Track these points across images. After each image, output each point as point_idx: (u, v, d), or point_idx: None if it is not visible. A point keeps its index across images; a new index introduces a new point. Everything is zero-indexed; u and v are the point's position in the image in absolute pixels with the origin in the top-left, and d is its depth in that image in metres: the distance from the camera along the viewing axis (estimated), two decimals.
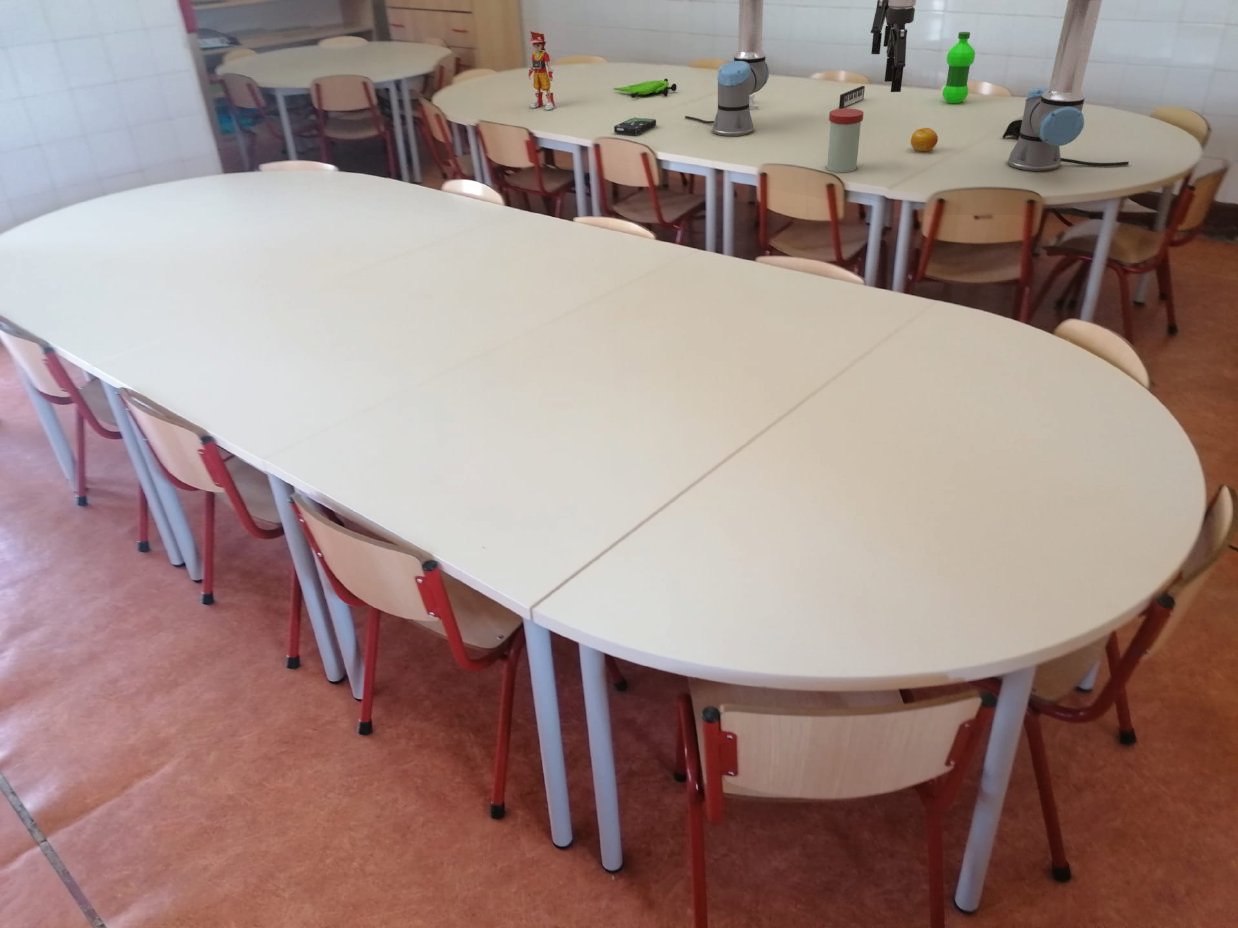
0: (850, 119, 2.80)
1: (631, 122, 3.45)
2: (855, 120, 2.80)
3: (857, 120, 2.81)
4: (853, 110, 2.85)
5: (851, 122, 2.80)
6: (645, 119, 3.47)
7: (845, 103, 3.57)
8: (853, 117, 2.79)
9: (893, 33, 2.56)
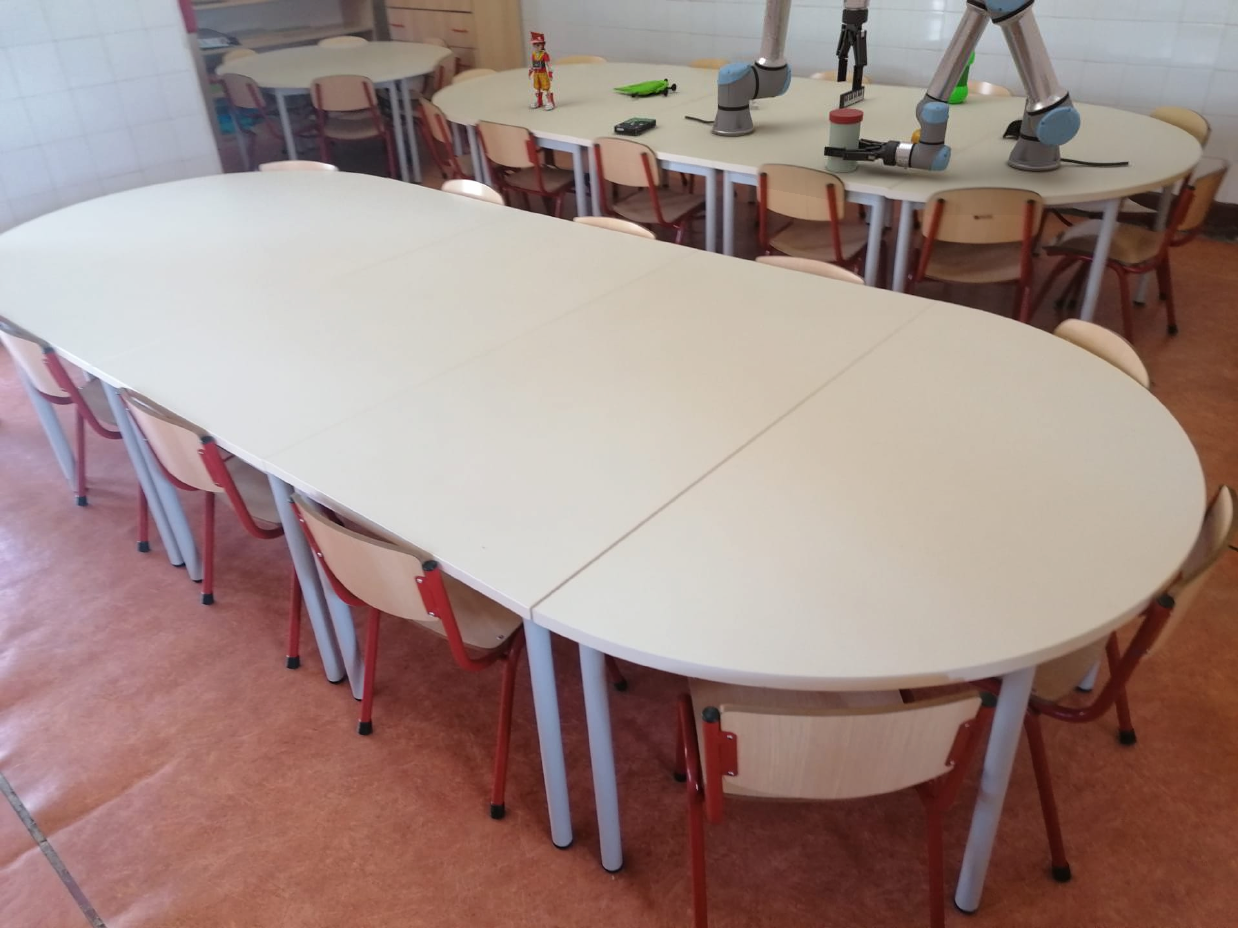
0: (850, 119, 2.80)
1: (631, 122, 3.45)
2: (855, 120, 2.80)
3: (857, 120, 2.81)
4: (853, 110, 2.85)
5: (851, 122, 2.80)
6: (645, 119, 3.47)
7: (845, 103, 3.57)
8: (853, 117, 2.79)
9: None
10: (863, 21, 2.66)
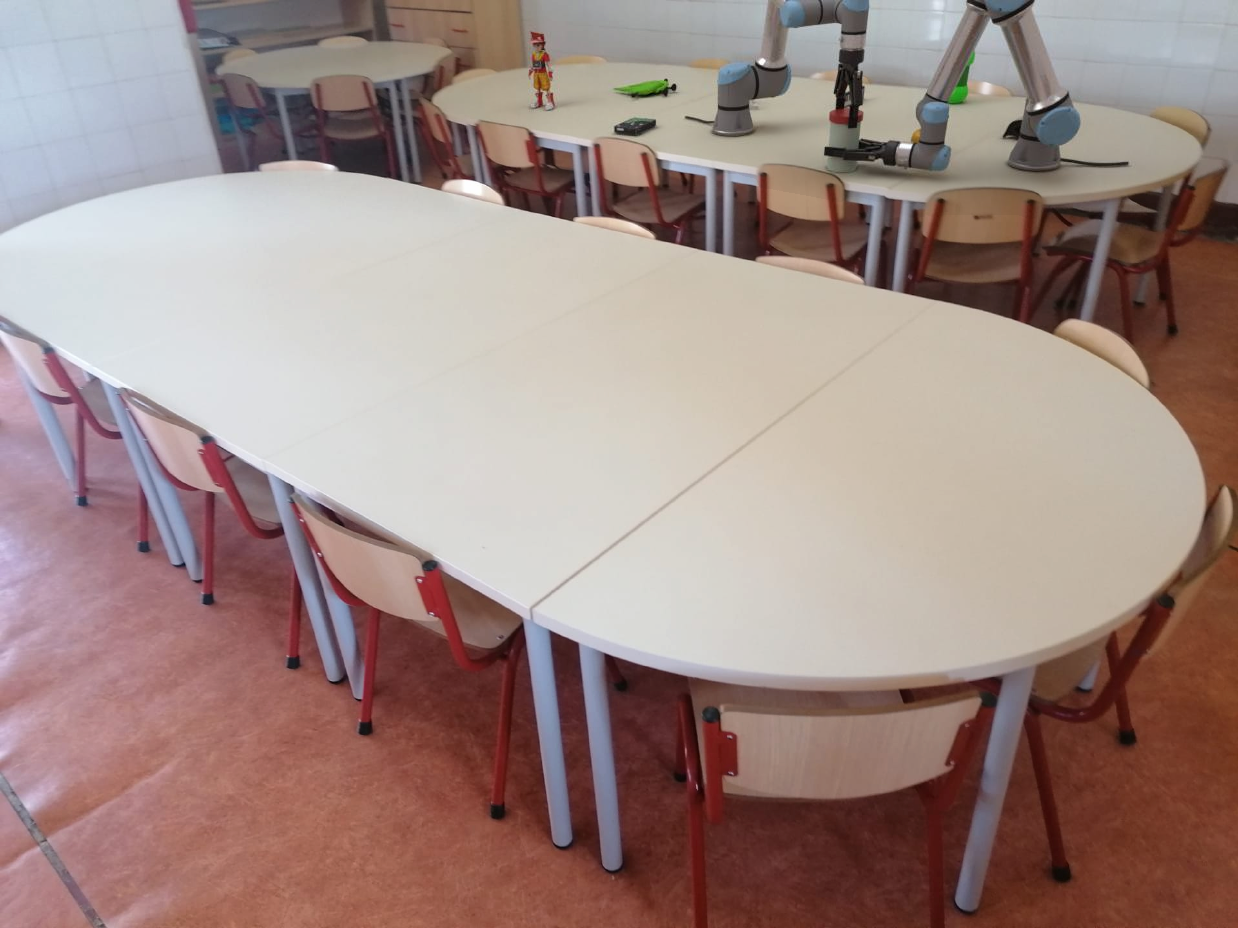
0: None
1: (631, 122, 3.45)
2: None
3: None
4: None
5: None
6: (645, 119, 3.47)
7: (845, 103, 3.57)
8: None
9: None
10: (859, 61, 2.72)
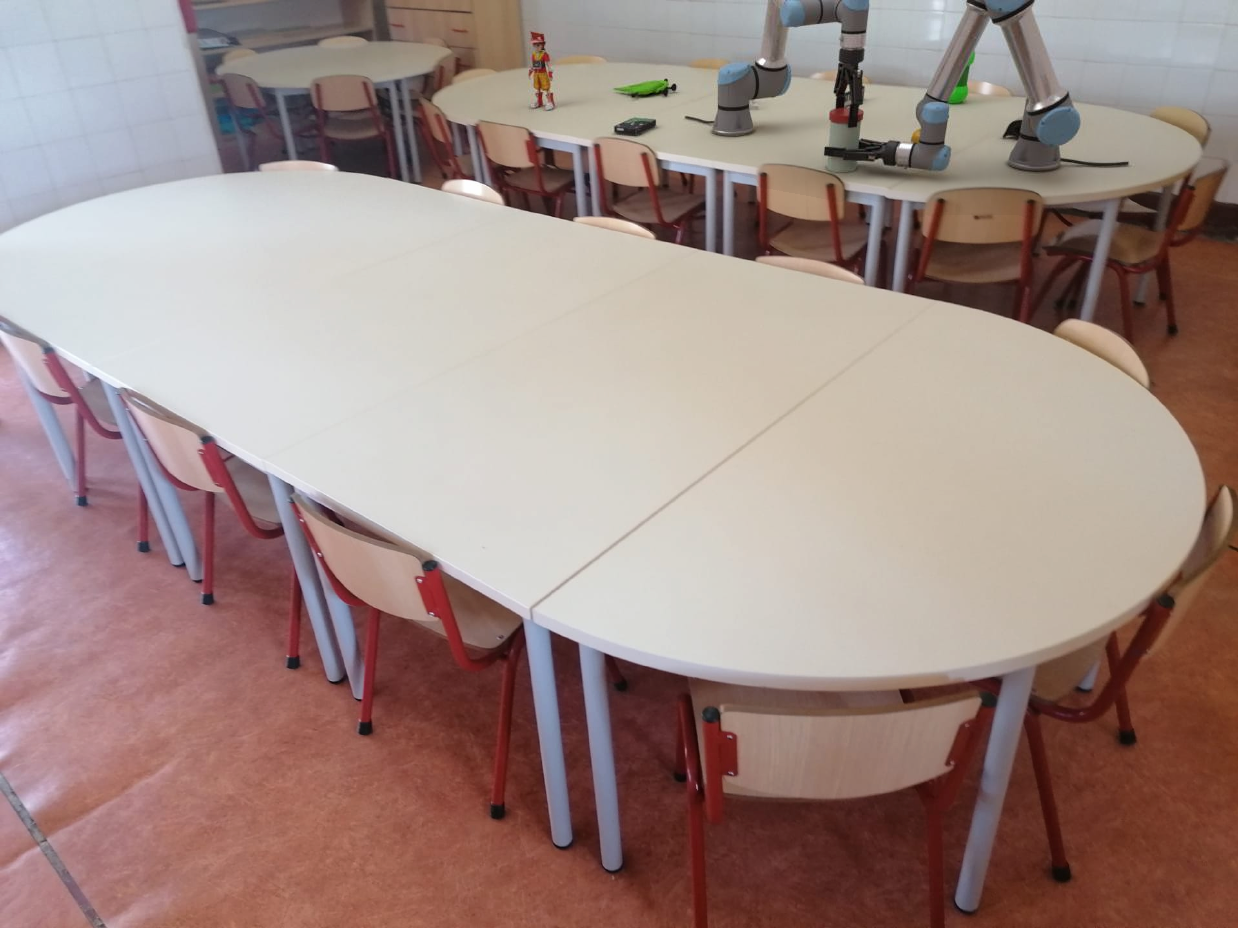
0: None
1: (631, 122, 3.45)
2: None
3: None
4: (838, 109, 2.86)
5: None
6: (645, 119, 3.47)
7: (845, 103, 3.57)
8: None
9: None
10: (859, 60, 2.72)
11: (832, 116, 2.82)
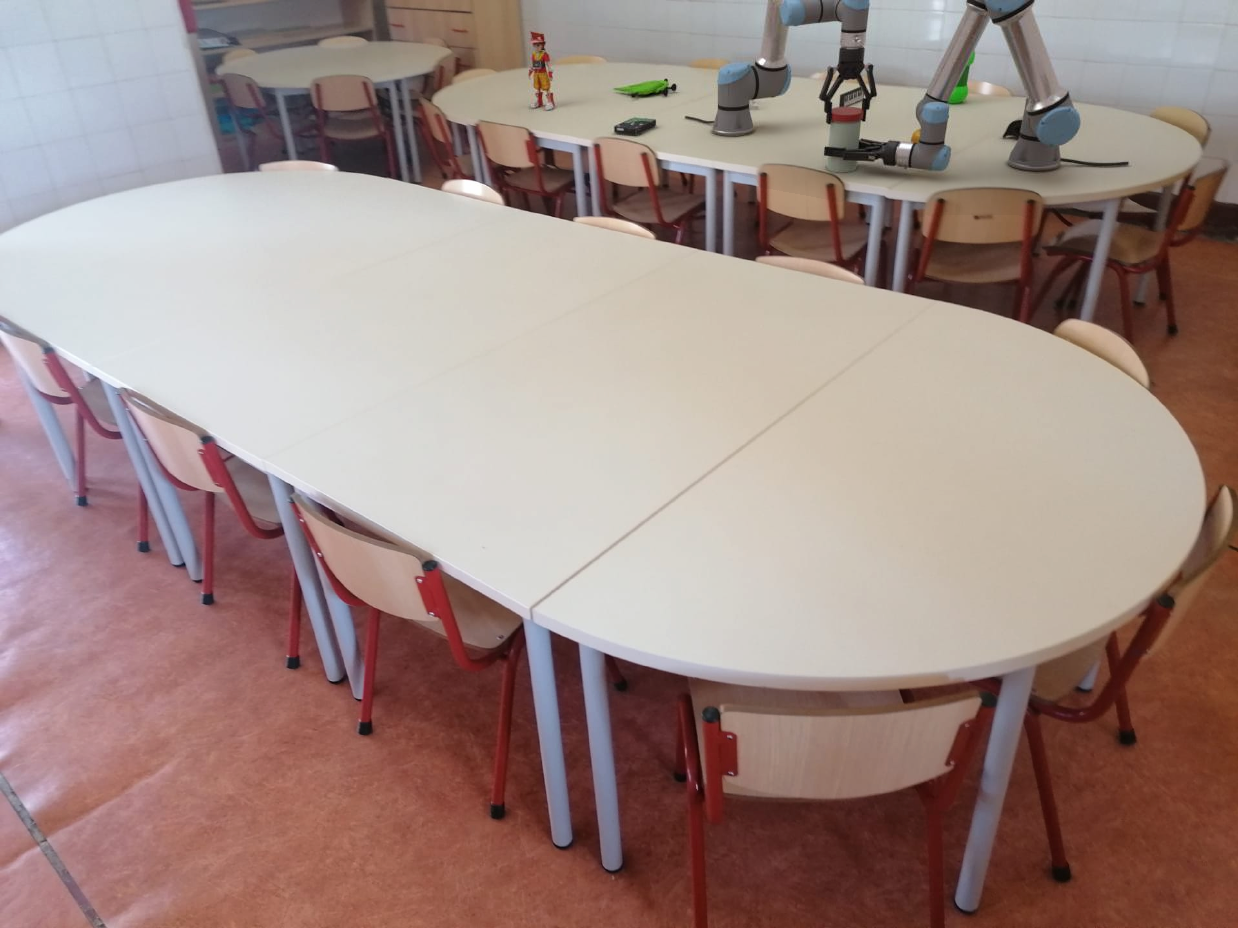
0: None
1: (631, 122, 3.45)
2: None
3: None
4: (838, 112, 2.82)
5: None
6: (645, 119, 3.47)
7: (845, 103, 3.57)
8: None
9: None
10: None
11: (855, 116, 2.79)
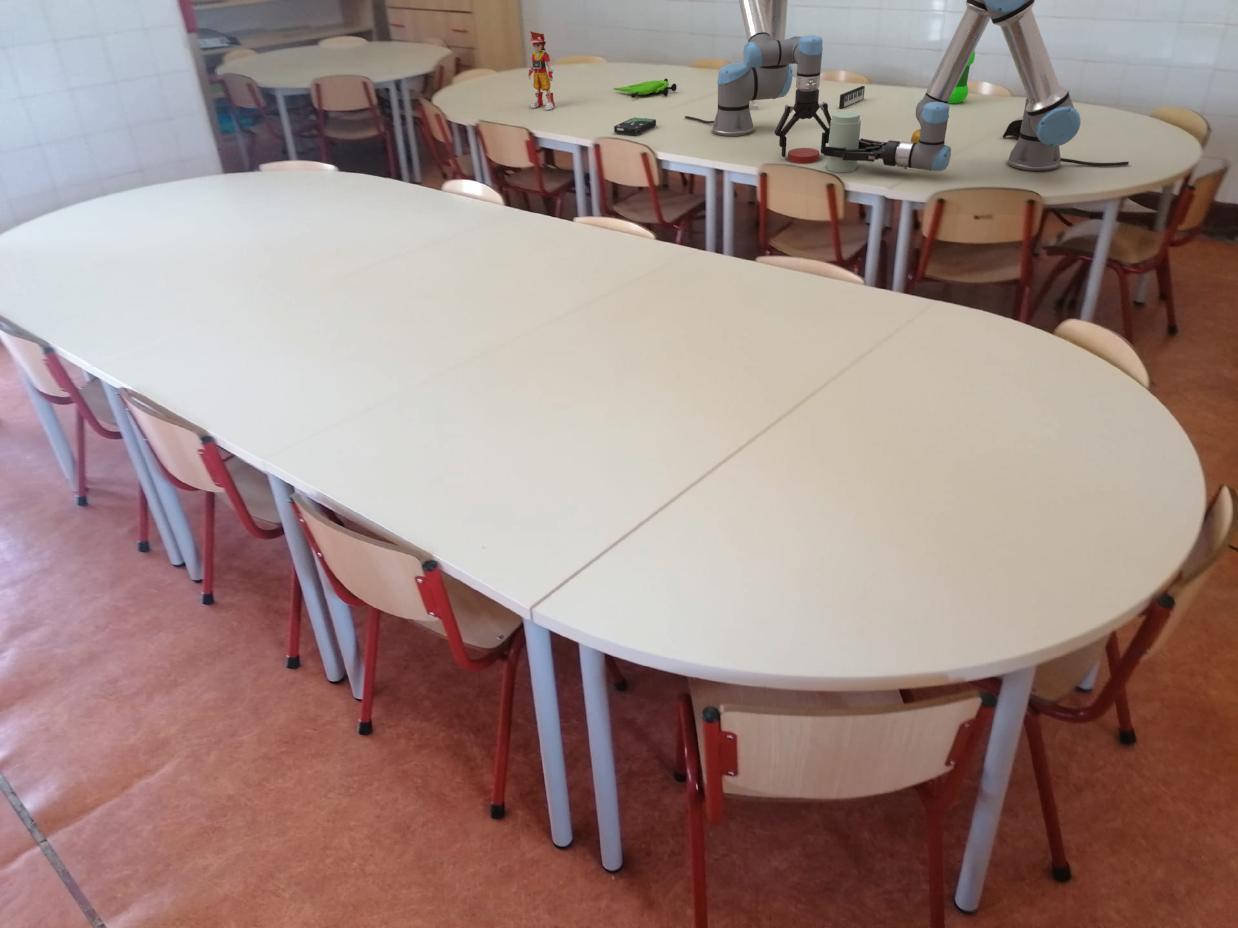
0: None
1: (631, 122, 3.45)
2: None
3: None
4: (795, 154, 3.01)
5: None
6: (645, 119, 3.47)
7: (845, 103, 3.57)
8: None
9: None
10: None
11: (811, 158, 2.99)
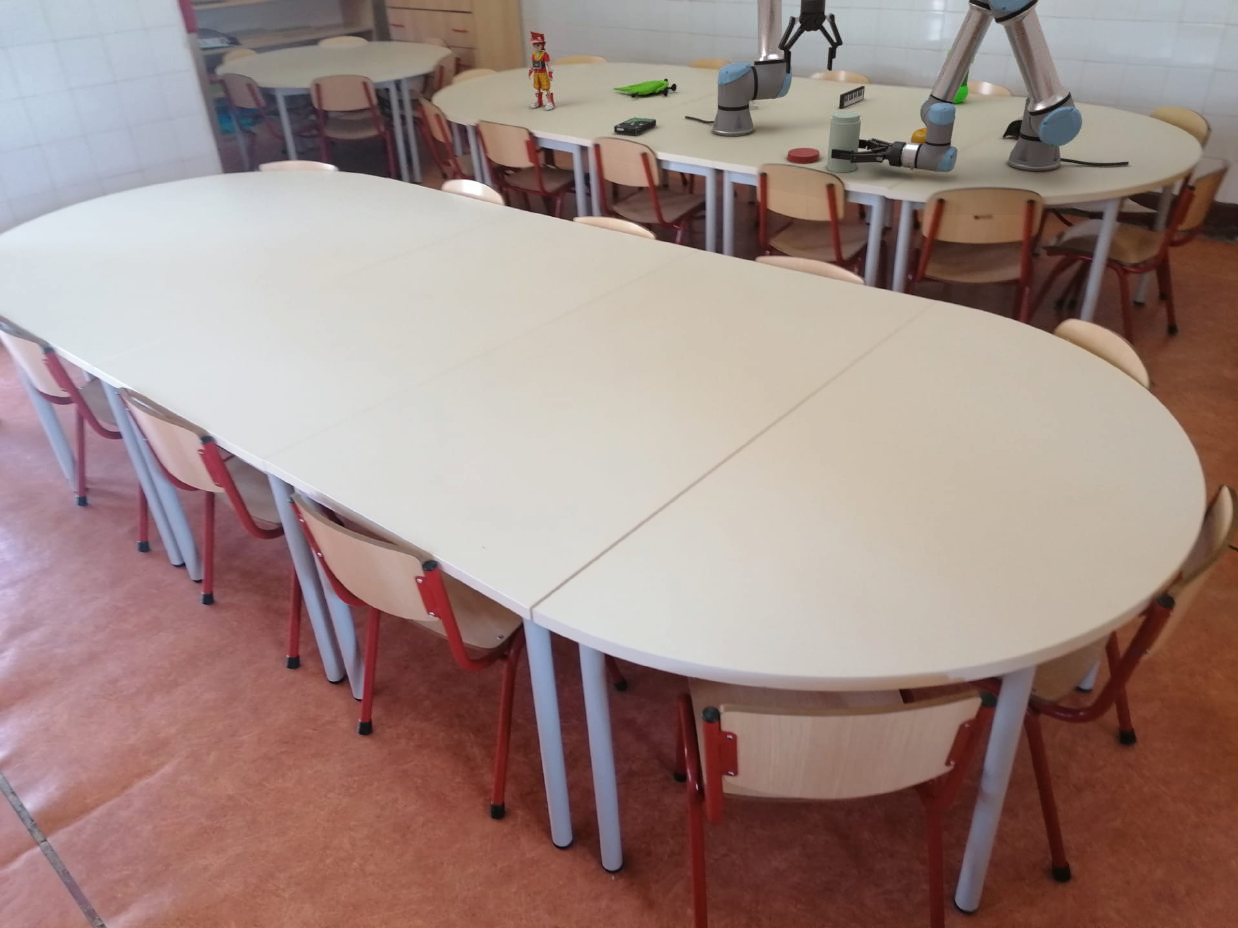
0: None
1: (631, 122, 3.45)
2: None
3: None
4: (795, 154, 3.01)
5: None
6: (645, 119, 3.47)
7: (845, 103, 3.57)
8: None
9: None
10: None
11: (811, 158, 2.99)
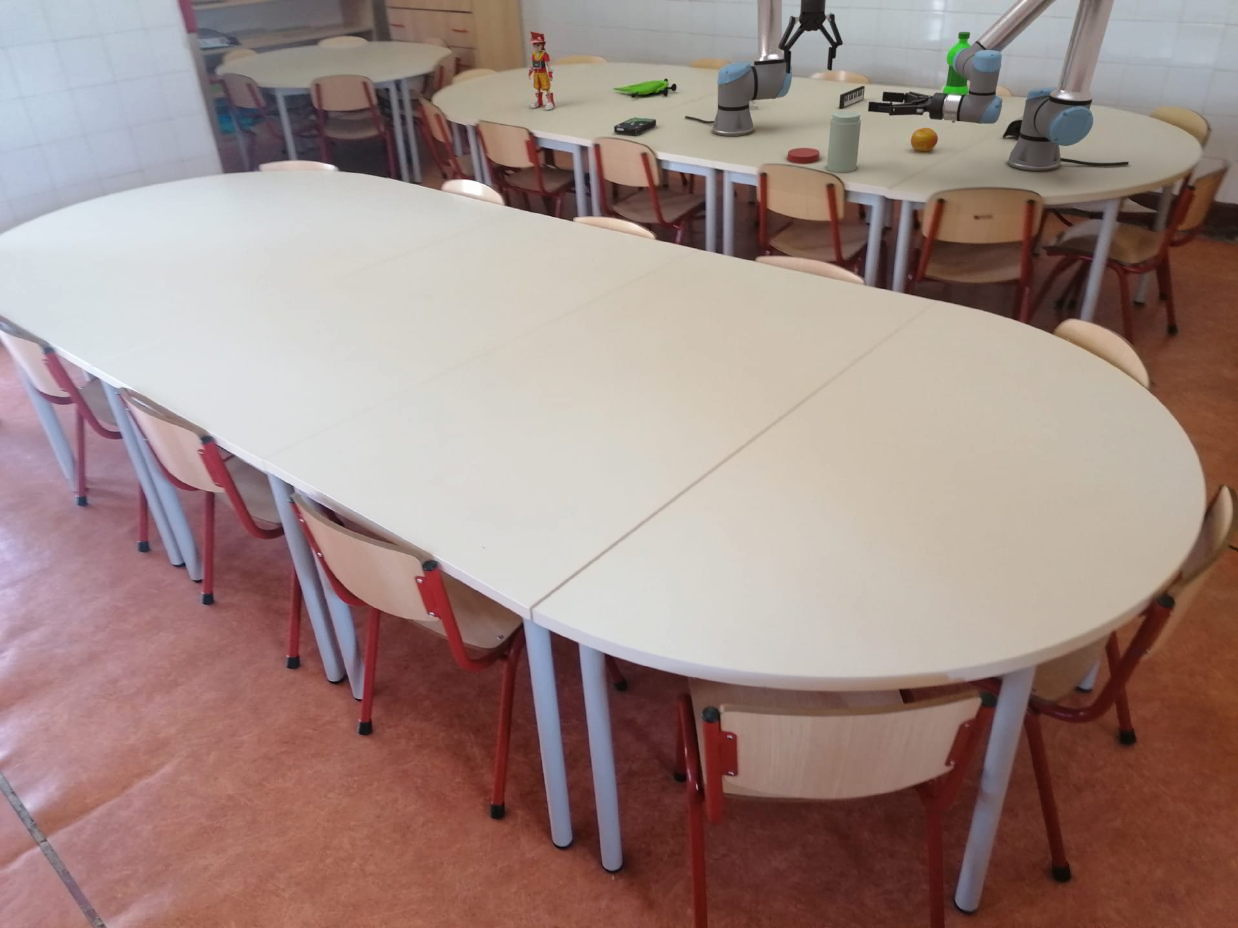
0: None
1: (631, 122, 3.45)
2: None
3: None
4: (795, 154, 3.01)
5: None
6: (645, 119, 3.47)
7: (845, 103, 3.57)
8: None
9: None
10: None
11: (811, 158, 2.99)
